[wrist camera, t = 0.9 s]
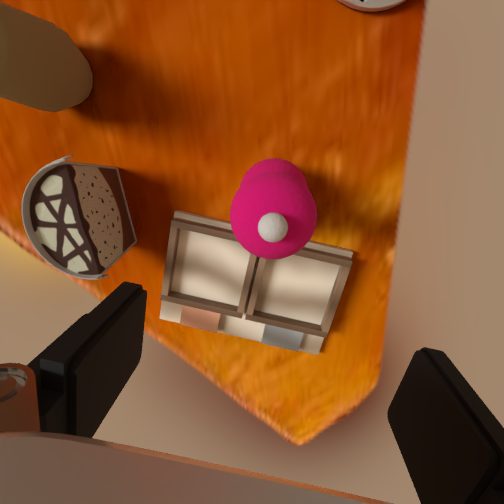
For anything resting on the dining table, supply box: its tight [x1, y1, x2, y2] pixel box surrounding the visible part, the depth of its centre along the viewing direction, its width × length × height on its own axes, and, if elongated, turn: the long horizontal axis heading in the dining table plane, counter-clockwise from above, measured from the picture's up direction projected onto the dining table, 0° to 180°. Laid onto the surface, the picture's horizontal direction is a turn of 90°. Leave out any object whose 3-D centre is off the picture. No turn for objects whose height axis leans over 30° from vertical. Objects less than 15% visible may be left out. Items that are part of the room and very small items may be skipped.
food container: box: [22, 155, 137, 279], centre depth 34 cm, size 12×6×10 cm, turn 8°
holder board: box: [160, 210, 353, 355], centre depth 39 cm, size 15×22×2 cm
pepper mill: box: [230, 158, 317, 259], centre depth 27 cm, size 7×7×20 cm
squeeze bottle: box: [0, 2, 93, 112], centre depth 26 cm, size 8×8×18 cm
